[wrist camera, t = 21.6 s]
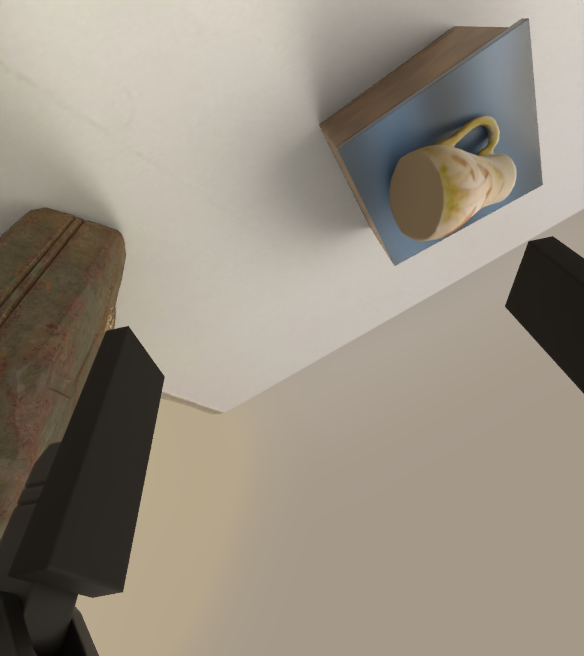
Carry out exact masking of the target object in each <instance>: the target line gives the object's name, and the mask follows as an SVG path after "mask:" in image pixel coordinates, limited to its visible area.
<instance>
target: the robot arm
mask: <svg viewBox="0 0 584 656" xmlns="http://www.w3.org/2000/svg"><path fill="white" fill-rule="evenodd" d="M505 307H506V308H507V309H508V310H509V311H510V313H511V314H512V315H513V316H514V317H515V318H516V319H517V320H518V321H519V323H520V324H521V325H522V326H523V327H524V328H525V329H526V330H527V331H528V332H529V333H530V335H531V336H532V337H533V338H534V339H535V340H536V341H537V342H538V344H539V345H540V346H541V347H542V348H543V349H544V350H545V351H546V352H547V353H548V355H549V356H550V357H551V358H552V359H553V360H554V361H555V362H556V363H557V365H558V366H559V367H560V368H561V369H562V370H563V371H564V372H565V373H566V374H567V375H568V377H569V378H570V379H571V380H572V381H573V382H574V383H575V384H576V385H577V387H578V388H579V389H580V390H581V391H582V392H583V393H584V258H582V257H581V256H580V255H578V254H577V253H575V252H574V251H573V250H571V249H570V248H568V247H567V246H566V245H564V244H563V243H561V242H560V241H559V240H557V239H556V238H554V237H553V236H552V237H547V238H543V239H538V240H533V241H529V242H528V245H527V247H526V250H525V253H524V256H523V258H522V261H521V264H520V266H519V269H518V272H517V275H516V277H515V280H514V283H513V286H512V288H511V291H510V294H509V297H508V299H507V302H506V305H505ZM163 382H164V375H163V374H162V372H161V371H160V370H159V368H158V367H157V365H156V364H155V363H154V361H153V360H152V358H151V357H150V356H149V354H148V353H147V351H146V350H145V349H144V347H143V346H142V344H141V343H140V342H139V340H138V339H137V337H136V336H135V335H134V333H133V332H132V330H131V329H130V328H129V326H127V327H122V328H117V329H113V330H108V331H106V332H105V335H104V337H103V340H102V342H101V345H100V347H99V350H98V352H97V354H96V357H95V359H94V362H93V364H92V367H91V369H90V372H89V374H88V377H87V379H86V382H85V384H84V387H83V389H82V392H81V394H80V397H79V399H78V402H77V404H76V407H75V409H74V412H73V414H72V417H71V419H70V422H69V424H68V426H67V429H66V431H65V434H64V436H63V439H62V441H61V442H57V443H52V444H49V445H48V447H47V448H46V449H45V451H44V452H43V453H42V454H41V456H40V457H39V458H38V460H37V461H36V462H35V463H34V465H33V468H32V470H31V472H30V475H29V477H28V479H27V481H26V484H25V486H26V487H25V489H23V490H22V493H21V495H20V497H19V499H18V502H17V503H18V506H17V507H15V508H14V511H13V513H12V515H11V517H10V520H9V522H8V524H7V526H6V529H5V531H4V533H3V535H2V538H1V540H0V656H99V655H98V653H97V650H96V648H95V645H94V643H93V641H92V638H91V636H90V634H89V631H88V629H87V626H86V624H85V622H84V620H83V617H82V615H81V613H80V612H79V610H78V609H77V608H76V607H75V603H76V600H77V596H78V594H80V595H84V596H88V597H92V598H94V597H99V596H105V595H109V594H115V593H120V592H123V589H124V584H125V579H126V574H127V568H128V563H129V558H130V553H131V548H132V542H133V537H134V532H135V527H136V521H137V517H138V512H139V506H140V501H141V496H142V491H143V486H144V481H145V475H146V470H147V465H148V460H149V454H150V449H151V444H152V439H153V434H154V429H155V424H156V418H157V413H158V408H159V403H160V398H161V393H162V387H163Z"/></svg>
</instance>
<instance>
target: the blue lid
mask: <svg viewBox="0 0 584 656" xmlns="http://www.w3.org/2000/svg"><path fill="white" fill-rule="evenodd" d="M479 116H490V117H492V118H494V119H495V121H496V122H497V125H498V127H499V131H500V134H499V142H498V143H497V145H496V146H495V148H494V150H493V153H501V154H506V155H508V156H509V157H510V158H511V159H512V160H513V162H514V164H515V166H516V172H517V173H516V181H515V185H514V187H513V189H512V191H511V192H510V194H509V195H508V196H507V197H506V198H505V199H504V200H503V201H501V202H498V203H495V204H491V205H488V206H485V207H483V208H482V209H480V210H479V211H478V212H476V213H475V214H474V215H473V216H472V217H471V218H470V219H469V220H468V221H466V222H465V223H464V224H463V225H462V226H461V227H459V228H458V229H457V230H455V231H454V232H452V233H451V234H449V235H447V236H445V237H442V238H439V239H436V240H429V241H422V242H421V241H416V240H413V239H411V238H409V237H407V236H406V235H404V234H403V233H402V232H401V231H400V229H399V227H398V226H397V223H396V221H395V219H394V217H393V214H392V211H391V207H390V198H389V188H390V182H391V178H392V176H393V173H394V170H395V167H396V165H397V163H398V161H399V159H400V158H401V157H403V156H405V155H406V154H408V153H410V152H412V151H415V150H417V149H419V148H422V147H426V146H431V145H435V144H436V143H437V142H439V141H442V140H444V139H446V138H448V137H450V136H451V135H453V134H454V133H455V132H457V131H458V130H459V129H460V128H462V127H463V126H464V125H465V124H466V123H468V122H469V121H470V120H472V119H474V118H476V117H479ZM487 144H488V132H487V128H486V127H485V126H477V127H475V128H473V129H472V130H471V131H469V132H468V133H467V134H466V135H465V136H464V137H463V138H462V139H461V140H460V141H459V142H457V143H456V144H455V146H454V147H455V148H458V149H461V150H463V151H466V152H469V153H471V154H474V155H476V154H477V153H478V152H479V151H480V150H481V149H483V148H485V147H486V146H487ZM336 148H337V150H338V153H339V155H340V157H341V159H342V161H343V163H344V165H345V167H346V169H347V171H348V173H349V175H350V177H351V179H352V181H353V183H354V185H355V187H356V189H357V191H358V194H359V196H360V198H361V200H362V202H363V204H364V206H365V208H366V210H367V212H368V214H369V216H370V218H371V220H372V222H373V224H374V226H375V228H376V230H377V232H378V235H379V237H380V239H381V241H382V243H383V245H384V247H385V249H386V251H387V253H388V255H389V257H390V259H391V261H392V263H393V265H394V266H396V265H397V264H399V263H401V262H403V261H405V260H406V259H408V258H410V257H412V256H414V255H416V254H417V253H419V252H421V251H423V250H425V249H427V248H428V247H430V246H432V245H434V244H436V243H437V242H439V241H441V240H443V239H445V238H447V237H448V236H450V235H452V234H454V233H456V232H458V231H459V230H461V229H463V228H465V227H467V226H468V225H470V224H472V223H474V222H476V221H478V220H479V219H481V218H483V217H485V216H487V215H488V214H490V213H492V212H494V211H496V210H498V209H499V208H501V207H503V206H505V205H507V204H509V203H510V202H512V201H514V200H516V199H518V198H519V197H521V196H523V195H525V194H527V193H529V192H530V191H532V190H534V189H536V188H538V187H540V186H541V185H543V183H542V171H541V159H540V147H539V135H538V123H537V111H536V99H535V87H534V75H533V63H532V51H531V39H530V27H529V19H528V18H525V19H521V20H519V21H518V22H516V23H515V24H513V25H512V26H510V27H509V28H508V29H506V30H505V31H503V32H502V33H500V34H499V35H497V36H496V37H495V38H493V39H492V40H490V41H489V42H487V43H486V44H485V45H483V46H482V47H480V48H479V49H477V50H476V51H474V52H473V53H472V54H470V55H469V56H467V57H466V58H464V59H463V60H461V61H460V62H459V63H457V64H456V65H454V66H453V67H451V68H450V69H449V70H447V71H446V72H444V73H443V74H441V75H440V76H438V77H437V78H436V79H434V80H433V81H431V82H430V83H428V84H427V85H425V86H424V87H423V88H421V89H420V90H418V91H417V92H415V93H414V94H412V95H411V96H410V97H408V98H407V99H405V100H404V101H402V102H401V103H400V104H398V105H397V106H395V107H394V108H392V109H391V110H389V111H388V112H387V113H385V114H384V115H382V116H381V117H379V118H378V119H376V120H375V121H374V122H372V123H371V124H369V125H368V126H366V127H365V128H363V129H362V130H361V131H359V132H358V133H356V134H355V135H353V136H352V137H351V138H349V139H348V140H346V141H345V142H343V143H342V144H340V145H339V146H338V147H336Z"/></svg>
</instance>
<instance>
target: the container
mask: <svg viewBox="0 0 584 656" xmlns="http://www.w3.org/2000/svg"><path fill="white" fill-rule="evenodd" d="M125 258H126V252H125V242H124V238H123V236H122V234H121V233H120V232H119V231H117V230H115V229H112V228H109V227H106V226H102V225H99V224H96V223H93V222H90V221H85V222H84V220H83V219H81V218H77V219H76V218H75V217H74V216H71V215H68V214H65V213H61V212H58V211H55V210H51V209H48V208H41V209H36V210H31V211H30V212H28V213H27V214H26V215H24V216H23V217H22V218H21V219H20V220H19V221H18V222H16V223H15V224H14V225H13V226H12V227H11V228H10V229H8V230H7V231H6V232H5V233H4V234H3V235H2V236H1V237H0V540H1V538H2V535H3V533H4V531H5V529H6V526H7V524H8V522H9V520H10V517H11V515H12V513H13V511H14V508H15V507H17V506H18V503H17V502H18V499H19V497H20V495H21V493H22V490H23V489H25V487H26V486H25V484H26V481H27V479H28V477H29V475H30V472H31V470H32V468H33V465H34V463H35V462H36V461H37V460H38V458H39V457H40V456H41V454H42V453H43V452H44V451H45V449H46V448H47V447H48V445H49V444H52V443H57V442H61V441H62V439H63V436H64V434H65V431H66V429H67V426H68V424H69V422H70V419H71V417H72V414H73V412H74V409H75V407H76V404H77V402H78V399H79V397H80V394H81V392H82V389H83V387H84V384H85V382H86V379H87V377H88V374H89V372H90V369H91V367H92V364H93V362H94V359H95V357H96V354H97V352H98V350H99V347H100V345H101V342H102V340H103V337H104V335H105V332H106V331H108V330H113V329H114V326H115V316H116V307H115V304H116V300H117V295H118V291H119V287H120V284H121V280H122V275H123V269H124V263H125Z"/></svg>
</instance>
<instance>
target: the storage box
mask: <svg viewBox="0 0 584 656" xmlns="http://www.w3.org/2000/svg"><path fill="white" fill-rule="evenodd" d="M506 29H508V27H464V26H455V27H453V28H452V29H451V30H449V31H448V32H446V33H445V34H444V35H442V36H441V37H440V38H438V39H437V40H435V41H434V42H433V43H431V44H430V45H429V46H427V47H426V48H424V49H423V50H422V51H420V52H419V53H418V54H416V55H415V56H413V57H412V58H411V59H409V60H408V61H407V62H405V63H404V64H402V65H401V66H400V67H398V68H397V69H396V70H394V71H393V72H391V73H390V74H389V75H387V76H386V77H384V78H383V79H382V80H380V81H379V82H378V83H376V84H375V85H373V86H372V87H371V88H369V89H368V90H367V91H365V92H364V93H362V94H361V95H360V96H358V97H357V98H356V99H354V100H353V101H351V102H350V103H349V104H347V105H346V106H345V107H343V108H342V109H340V110H339V111H338V112H336V113H335V114H334V115H332V116H331V117H329V118H328V119H327V120H325V121H324V122H323V123H321V124H320V125H319V126H320V128H321V130H322V132H323V134H324V136H325V138H326V140H327V142H328V144H329V146H330V148H331V150H332V152H333V154H334V156H335V158H336V160H337V162H338V164H339V166H340V168H341V170H342V172H343V174H344V176H345V178H346V180H347V182H348V184H349V186H350V188H351V190H352V192H353V194H354V196H355V198H356V200H357V202H358V204H359V206H360V208H361V210H362V212H363V214H364V216H365V218H366V220H367V222H368V224H369V226H370V228H371V229H372V231H373V233H374V234H375V236H376V237H377V239H378V241H379V242H380V244H381V245H382V247H383V249H384V250H385V252H386V253H387V251H386V249H385V247H384V245H383V243H382V241H381V239H380V237H379V235H378V232H377V230H376V228H375V226H374V224H373V222H372V220H371V218H370V216H369V214H368V212H367V210H366V208H365V206H364V204H363V202H362V200H361V198H360V196H359V194H358V191H357V189H356V187H355V185H354V183H353V181H352V179H351V177H350V175H349V173H348V171H347V169H346V167H345V165H344V163H343V161H342V159H341V157H340V155H339V153H338V150H337V148H336V147H338V146H339V145H340V144H342V143H343V142H345V141H346V140H348V139H349V138H351V137H352V136H353V135H355V134H356V133H358V132H359V131H361V130H362V129H363V128H365V127H366V126H368V125H369V124H371V123H372V122H374V121H375V120H376V119H378V118H379V117H381V116H382V115H384V114H385V113H387V112H388V111H389V110H391V109H392V108H394V107H395V106H397V105H398V104H400V103H401V102H402V101H404V100H405V99H407V98H408V97H410V96H411V95H412V94H414V93H415V92H417V91H418V90H420V89H421V88H423V87H424V86H425V85H427V84H428V83H430V82H431V81H433V80H434V79H436V78H437V77H438V76H440V75H441V74H443V73H444V72H446V71H447V70H449V69H450V68H451V67H453V66H454V65H456V64H457V63H459V62H460V61H461V60H463V59H464V58H466V57H467V56H469V55H470V54H472V53H473V52H474V51H476V50H477V49H479V48H480V47H482V46H483V45H485V44H486V43H487V42H489V41H490V40H492V39H493V38H495V37H496V36H497V35H499V34H500V33H502V32H503V31H505V30H506ZM387 255H388V253H387ZM388 257H389V255H388ZM389 258H390V257H389ZM390 260H391V259H390Z"/></svg>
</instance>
